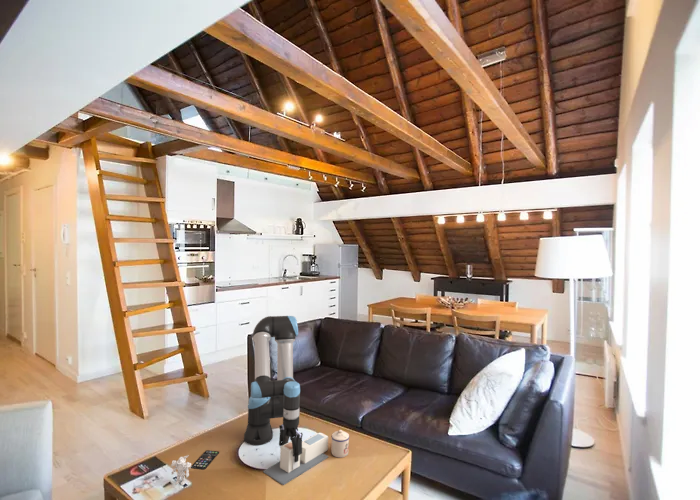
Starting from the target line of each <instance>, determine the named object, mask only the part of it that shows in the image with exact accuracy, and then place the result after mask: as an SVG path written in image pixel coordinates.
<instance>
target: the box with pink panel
mask: <svg viewBox="0 0 700 500" xmlns="http://www.w3.org/2000/svg"><path fill="white" fill-rule="evenodd" d="M279 448H280V452H279V453H280V454H279V462H280V468H281V469H283V470H285V471H286V472H288V473H289V472H291V471H293V470H294V469H292V455H293V454H294V453H293V447H292V441H291V440H290V441H288V443H286V444H284V445H282V446H279ZM299 466H300V455H299V459H298V467H299ZM298 467H296V468H298ZM296 468H295V469H296Z"/></svg>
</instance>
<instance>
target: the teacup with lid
mask: <svg viewBox="0 0 700 500" xmlns="http://www.w3.org/2000/svg"><path fill="white" fill-rule="evenodd" d="M349 441H350V434H349V433H348V432H347V431H344V430H342V429H339V430H336V431H334V432H333V433H332V434H331V455H332V456H334V457H336V458H345V457H347V456H348V455H349V447H350V446H349V444H350V442H349Z"/></svg>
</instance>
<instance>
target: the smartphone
mask: <svg viewBox="0 0 700 500" xmlns="http://www.w3.org/2000/svg"><path fill="white" fill-rule="evenodd" d="M219 454H220V451H217V450H209V449H208V450H205V451H204V452H203V453H202V454H201V455H200V456H199V457H198V458H197V459H196V460H195V461H194V463H193V464H191V466H190V467H191V468H190V469H194V470H202V471H204V470H206V469H207V468H208V467H209V466H210V465H211V463H212V462H213V461H214V460H215V458H216V457H217V456H218V455H219Z"/></svg>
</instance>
